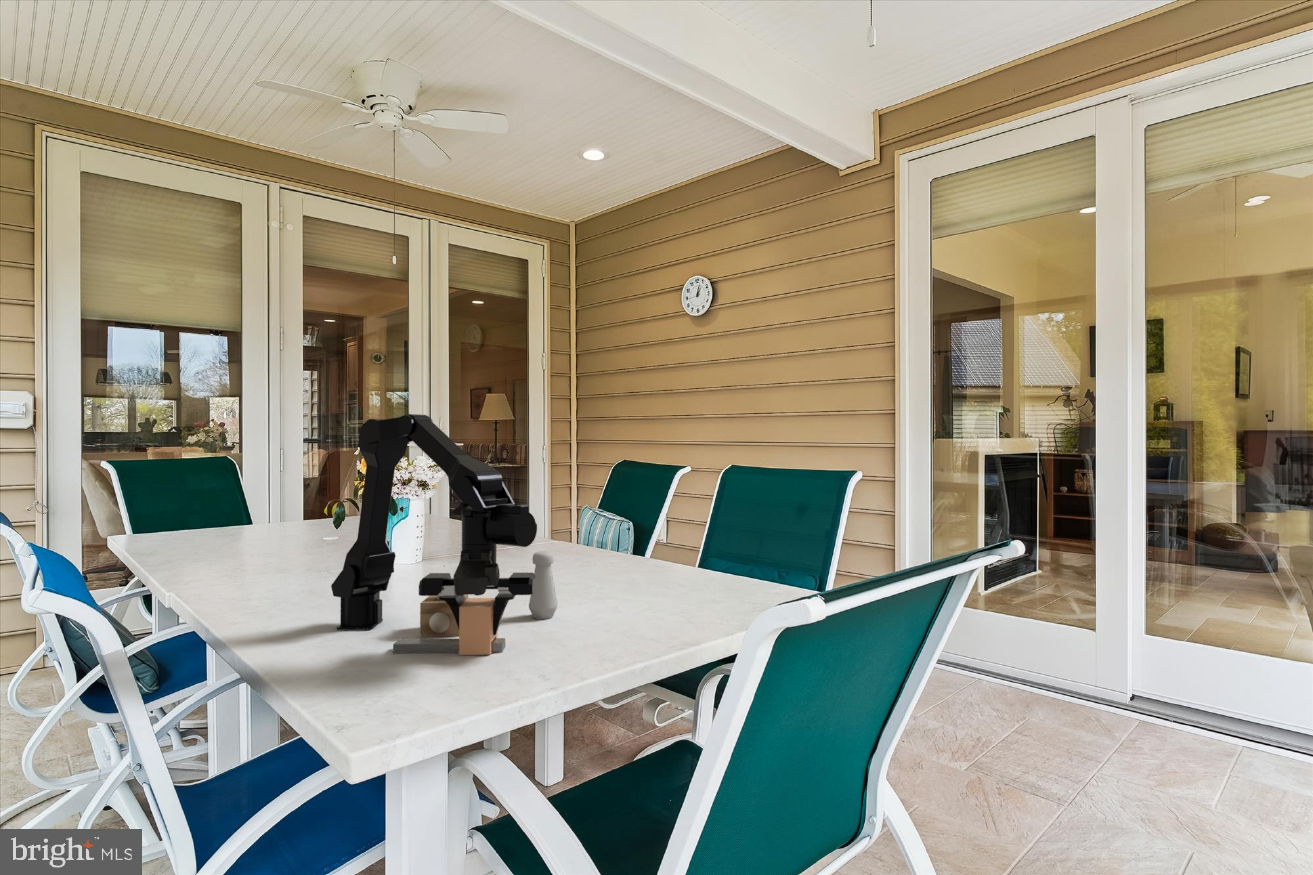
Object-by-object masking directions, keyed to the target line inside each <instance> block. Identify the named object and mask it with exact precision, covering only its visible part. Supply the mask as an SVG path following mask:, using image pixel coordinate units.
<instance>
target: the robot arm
mask: <svg viewBox="0 0 1313 875" xmlns="http://www.w3.org/2000/svg"><path fill="white" fill-rule="evenodd" d="M411 442H413V443H414V444H415V445H416V446H417V447H418V449H420V450H421V451H422V452H423V453H424V454H425V455H426V456H427V457H428V458H429V459H430V460H432V461H433V463H434V464H436V465H437V467H439V468H440V469H441V471H443V473H445V475H446V476H447V481H448V486H449V488H450V489H451V490H452V493H454V495H455V497H457V499H458V500H459V502H460V503H459V505H458V506H457V507H455V508H454V509H453V510H452V512H451V514H452V515H453V516H461V551H460V560H459V563H458V566H457V567H456V569H455V572H454V574H453V577H452V576H451V573H450V572H430V573H429V574H426V575H425V576H424V577H422V578H421V580H419V582H418V583H419V584H418V596H420V597H421V596H422V597H424V596H425V597H426V596H427V597H429V596H437V595H438V594H439V593H440V597H439V600H443V601H445V602H446V603H447V604H448V605H449V607H450V608H451V610H452V612H453V615H454V617H455V620H456V623H457V626H458V628H459V607H460V606H461V605H462V604H463V603H464V595H467V594H468V595H474V596H482V595H484V594H485V593H486V591H487V590H497V592H498V593H497V594H496V596H495V597H494V598H495V613H494V622H493V635H496V634H497V635H498V631H499V627H500V625H501V621H502V619H503V616H504V613H505V610H506V607H507V606H508V603H509V601H511V600H514V599H515V598H516V596H531V594H533V592H534V591H535V589H536V575H535V574H534V572H513V573H512V574H511V575H510V576H509V577H500V576H501V575H500V567H499V563H497V551H498V550H497V545H498V546H499V545H501V546H510V547H520V548H526V547H530V546H531V545H532V544H533V543H534V541H535V539H536V537H537V532H538V524H537V522H536V519H535V517H534V516H533V514H532V513H530V511H529V510H530V509H529V508H530V506H529V505H528V504H517V505H516V503H515V501H514V499H513V498H512V496H511V494H510V492H509V490H508V488H507V487H506V485H505V483H504V481H503V476H502V474H501V473H500V472H499V470H497V469H496V468H494V467H493V466H490V464H488V463H486V462H484V461H481V460H479V459H476V458H474V457H471V456H470V455H468V454H467V453H466V452H465V451H464V450H463V449H462V448H461V447H460V446H459V445H458V444H457V443H455V441H453V439H451V438H450V437H449V436H448V435H447V434H446V433H445V432H444V431H443V430H442V429H440V428H439V426H437V425H436V424H435V423H434V421H433V419H432V417H430V416H429V415H427V414H415V413H413V414H412V413H407V414H403V415H402V416H397V417H392V418H384V419H383V418H369V419H367V420H366V421H365V422H364V423H362V424H361V426H360V429H359V452H360V454H361V456H362V459H363V460H364V462H365V464H366V465H365V474H364V476H365V477H364V481H363V482H364V484H363V489H362V491H363V493H362V498H361V499H362V500H361V508H360V513H359V514H360V516H359V523H358V532H357V539H356V541H355V542H354V544H353V545H352V547H350V548H349V550H348V551H347V552H346V556H345V557H344V558H345V559H344V563H343V567H342V570H341V571H340V573H339V574H338V575H337V576H336V578H335V579H334V581H333V583H332V584H331V585H330V587H331V591H332V595H333V597H337V598H340V622H339V623H340V625H339V624H338V625H337V626H336V630H345V631H346V630H355V631H356V630H372V629H374V628H375V627H377V626H378V625H379V624H381V623H382V622H383V621H384V619H383V599H381V598H380V595H381V594H380V592H385V591H387V590H388V586H389V582H390V579H391V576H392V574H393V573H394V572H395V566H394V565H395V560H396V553H395V551H391V550H390V547H389V546H388V544H387V531H388V526H389V525H388V524H389V515H390V508H391V500H392V494H393V486H394V480H395V479H394V477H395V470H396V467H397V465H398V464H399V463H400V462H401V460H402V459H403V458H404V456H405V455H406V452H407V448H408V445H409V443H411Z"/></svg>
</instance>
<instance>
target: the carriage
mask: <svg viewBox="0 0 1313 875" xmlns="http://www.w3.org/2000/svg"><path fill="white" fill-rule="evenodd" d="M494 613H495V597H468V599H467V600H466V601H465V602H464V603H463V604H462V605H461V606H460V607H459V636H458V639H459V653H458V655H459V656H460V655H461V656H463V655H465V656H467V655H468V656H469V655H471V656H472V655H473V656H474V655H491V653H492V652H491V642H492V641H493V639H494V638H498V633H497V634H496V635H493V622H494Z"/></svg>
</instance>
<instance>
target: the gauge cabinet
mask: <svg viewBox="0 0 1313 875" xmlns="http://www.w3.org/2000/svg"><path fill="white" fill-rule="evenodd" d="M468 598H469V594H467V595H464V602H465V601H466V600H467V599H468ZM419 604H420V606H419V608H420V609H419V610H420V611H419V617H420V618H419V620H420V621H419V625H420V626H419V631H420V632H419V634H420V636H419V637H459V628H458V626H457V623H456V620H455V617H454V615H453V612H452V610H451V608H450V607H449V605H448V604H447V603H446V602H445V601H443V600H439V599H437V596H427V597H426V598H425V599H423V600H422V601H421V602H420V603H419Z"/></svg>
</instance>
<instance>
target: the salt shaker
mask: <svg viewBox="0 0 1313 875" xmlns="http://www.w3.org/2000/svg"><path fill="white" fill-rule="evenodd" d="M554 561H555V556H554V553H552V551H546V550H545V551H537V552H534V553H533V554H532V564H533V565H535V567H534V570H533V571H534V572H533V573H534V574H535V575H536V589H535V591H534V592H533V594H531V595H529V596H530V597H529V603H528V609H529V611H530V613H531V615H532V617H533V619H534V618H536V619H537V620H547V618H549V619H552V618H553V617H554V615H555V613H556V611H557V609H558V606H559V605H558V598H557V591H556V586H555V581H554V575H553V570H552V564H553V563H554Z"/></svg>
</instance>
